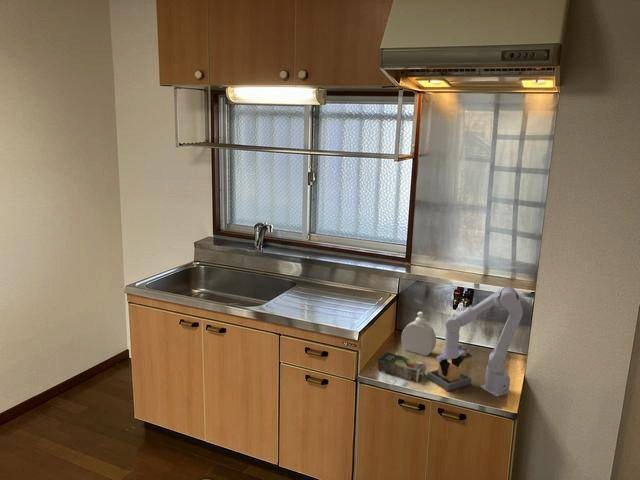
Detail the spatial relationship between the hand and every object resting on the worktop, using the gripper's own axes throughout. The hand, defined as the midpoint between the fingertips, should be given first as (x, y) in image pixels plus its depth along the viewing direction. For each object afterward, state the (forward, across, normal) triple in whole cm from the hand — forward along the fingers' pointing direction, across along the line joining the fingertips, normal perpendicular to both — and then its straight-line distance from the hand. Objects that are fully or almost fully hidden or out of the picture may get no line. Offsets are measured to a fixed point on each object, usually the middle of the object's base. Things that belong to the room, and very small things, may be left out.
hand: (449, 373), depth 237 cm
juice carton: (+4, +12, -16) cm, 21 cm away
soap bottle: (+4, -8, -30) cm, 31 cm away
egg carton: (+4, -22, -19) cm, 29 cm away
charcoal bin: (+4, 0, 0) cm, 4 cm away
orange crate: (+2, 0, 0) cm, 2 cm away
